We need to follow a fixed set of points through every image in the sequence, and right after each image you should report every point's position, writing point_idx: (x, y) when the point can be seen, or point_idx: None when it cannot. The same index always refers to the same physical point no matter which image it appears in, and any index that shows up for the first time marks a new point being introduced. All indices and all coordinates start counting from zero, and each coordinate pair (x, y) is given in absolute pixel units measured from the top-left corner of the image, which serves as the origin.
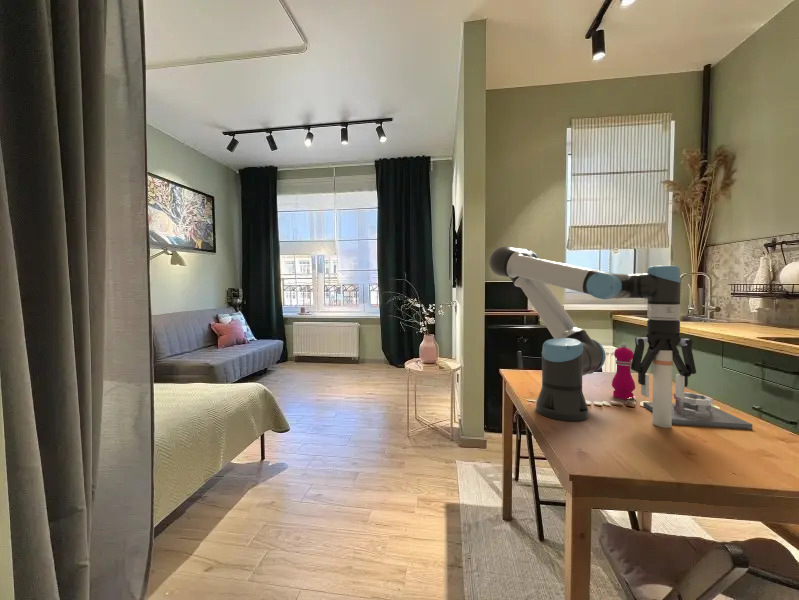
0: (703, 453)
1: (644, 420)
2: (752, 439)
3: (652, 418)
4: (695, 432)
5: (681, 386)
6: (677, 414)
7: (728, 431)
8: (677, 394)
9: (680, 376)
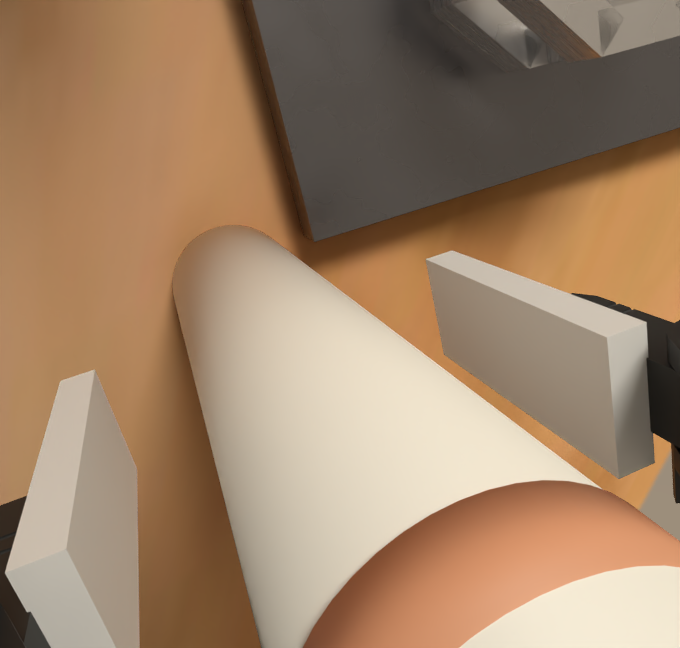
0: None
1: (119, 233)
2: (639, 295)
3: (174, 290)
4: (404, 333)
5: (520, 406)
6: (392, 73)
7: (590, 209)
8: (445, 297)
9: (607, 449)
